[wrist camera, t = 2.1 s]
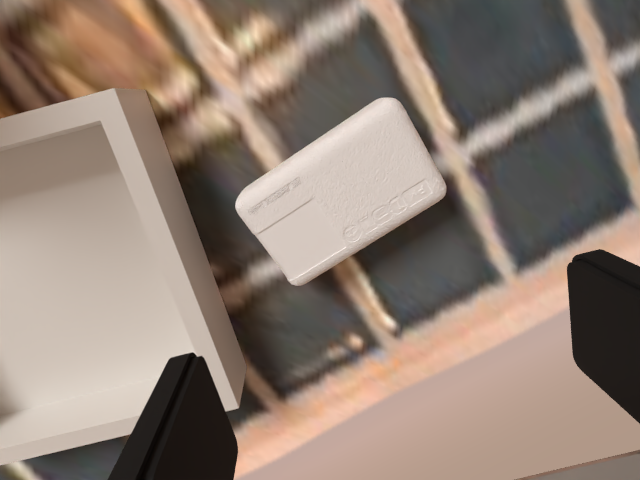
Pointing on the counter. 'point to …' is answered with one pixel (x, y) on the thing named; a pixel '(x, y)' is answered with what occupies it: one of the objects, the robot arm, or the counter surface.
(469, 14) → the counter surface
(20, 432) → the box
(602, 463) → the robot arm
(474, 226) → the counter surface
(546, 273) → the counter surface
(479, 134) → the counter surface
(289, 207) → the soap
